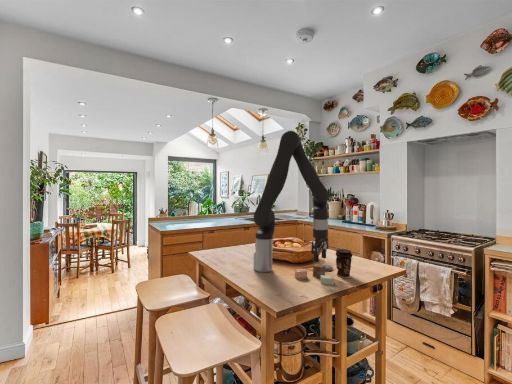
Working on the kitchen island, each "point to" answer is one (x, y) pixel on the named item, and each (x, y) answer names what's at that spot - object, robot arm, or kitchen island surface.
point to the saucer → (328, 267)
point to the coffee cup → (343, 262)
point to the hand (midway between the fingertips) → (320, 259)
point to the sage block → (327, 280)
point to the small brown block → (301, 274)
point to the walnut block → (318, 270)
